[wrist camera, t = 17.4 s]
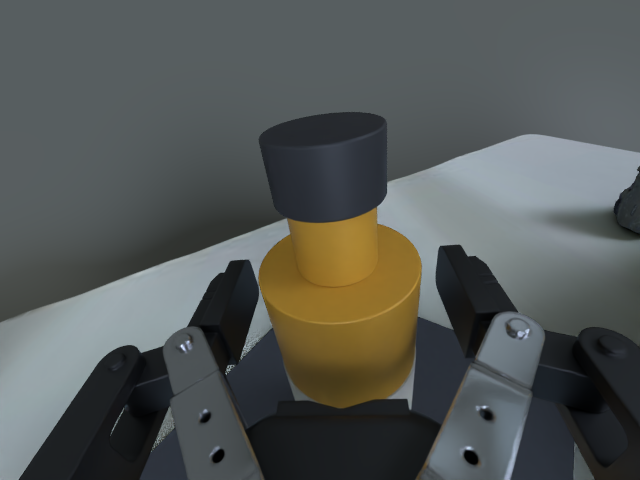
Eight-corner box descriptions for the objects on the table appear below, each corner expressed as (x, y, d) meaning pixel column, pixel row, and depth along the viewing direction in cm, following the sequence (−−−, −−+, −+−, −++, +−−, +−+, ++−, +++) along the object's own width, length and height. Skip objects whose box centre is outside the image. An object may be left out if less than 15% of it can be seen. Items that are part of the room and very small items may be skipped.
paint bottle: (342, 371, 21) (303, 104, 11) (423, 417, 18) (465, 102, 8) (291, 449, 17) (167, 152, 8) (380, 523, 14) (364, 182, 4)
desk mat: (320, 281, 30) (320, 278, 29) (574, 381, 19) (577, 377, 18) (118, 491, 17) (115, 488, 17) (543, 1180, 6) (548, 1199, 6)
